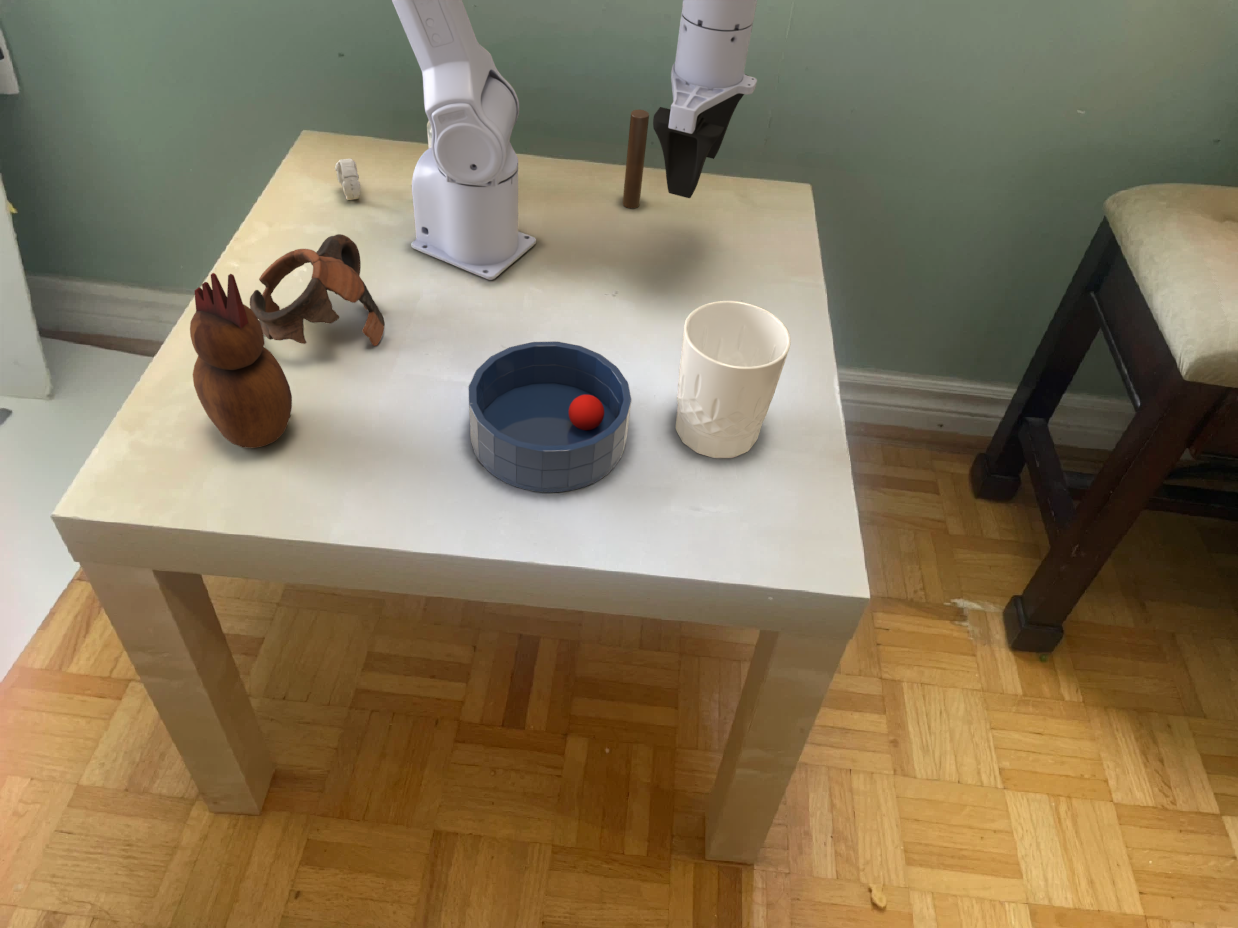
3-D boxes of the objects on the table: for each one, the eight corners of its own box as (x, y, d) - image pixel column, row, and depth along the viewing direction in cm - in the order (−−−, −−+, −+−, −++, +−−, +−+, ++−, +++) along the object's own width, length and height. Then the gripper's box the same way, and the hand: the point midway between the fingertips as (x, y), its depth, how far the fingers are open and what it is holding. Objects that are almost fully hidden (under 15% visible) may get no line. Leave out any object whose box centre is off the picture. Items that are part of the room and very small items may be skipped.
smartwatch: (365, 205, 93) (360, 168, 90) (343, 207, 92) (337, 171, 89) (359, 187, 95) (354, 151, 92) (337, 189, 94) (332, 153, 91)
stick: (619, 205, 97) (627, 114, 89) (627, 197, 98) (636, 107, 90) (634, 210, 96) (643, 119, 89) (642, 203, 97) (652, 112, 90)
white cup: (737, 480, 71) (762, 383, 63) (650, 436, 73) (664, 339, 66) (780, 422, 76) (807, 326, 68) (696, 384, 78) (715, 287, 71)
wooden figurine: (313, 436, 70) (275, 273, 59) (244, 472, 67) (191, 308, 56) (265, 390, 73) (221, 228, 62) (197, 423, 70) (138, 258, 59)
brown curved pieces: (380, 374, 76) (315, 314, 70) (293, 391, 80) (223, 336, 74) (409, 263, 82) (351, 198, 76) (326, 284, 86) (264, 224, 79)
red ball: (561, 428, 72) (562, 402, 70) (579, 408, 74) (581, 382, 72) (591, 442, 72) (594, 416, 69) (609, 421, 73) (611, 396, 71)
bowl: (439, 450, 70) (435, 408, 67) (526, 364, 78) (526, 322, 75) (575, 516, 67) (578, 475, 64) (652, 419, 75) (658, 378, 71)
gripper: (743, 62, 67) (713, 224, 76) (786, -4, 76) (755, 148, 86) (652, 41, 68) (634, 203, 78) (705, -21, 77) (683, 131, 87)
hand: (692, 173), depth 82 cm, fingers open, 7 cm apart
